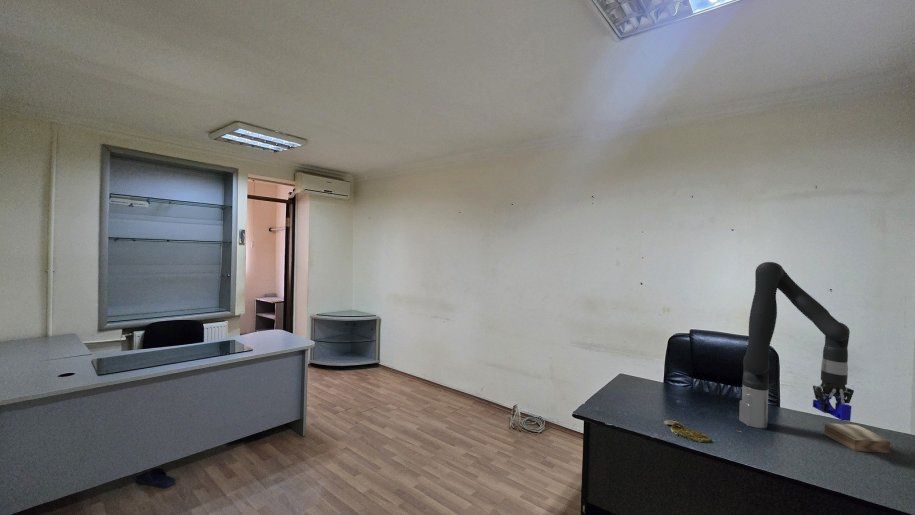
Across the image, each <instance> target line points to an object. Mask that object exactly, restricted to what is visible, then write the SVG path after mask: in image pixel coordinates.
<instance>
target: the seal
mask: <svg viewBox="0 0 915 515" xmlns="http://www.w3.org/2000/svg"><path fill="white" fill-rule="evenodd" d="M670 431H671V432H672V433H673V432H674V433H675V434H674V433H673V434H674V435H676V434H677V435H676V436H678V435H679V436H681V437H680V438H682V437H684V438H683V439H685V438H686V440H688V439H689V440H688V441H690V440H692V441H691V442H695V441H696V442H695V443H699V442H703V444H709V443H712V442H713V441H712V438H710V437H709V436H707V435H705V434H703V433H702V432H701V431H696V430H694V429H692V428H687V427H684V425H683V424H682V423H681V422H678V421H677V422H676V421H674V422H672V424H671V427H670ZM679 436H678V437H679Z"/></svg>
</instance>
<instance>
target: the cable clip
mask: <svg viewBox="0 0 915 515" xmlns="http://www.w3.org/2000/svg"><path fill="white" fill-rule="evenodd" d="M826 395H827V394H826ZM827 396H828V395H827ZM825 399H826V397H825ZM828 404H829V408H828V413H827V412H824V411H822V410H821V401H819V400H817V399H813V400H812V408H814V409H816V410H818V411H820V412H822V413H824V414H829V415H831V416H833V417H834V418H836V419H838V420H840V421H847V422H851V417H852V406H851V405H849V404H848V403H845V404H839V407H838V409H837V410H835V407H834V406H833V405H832V404H831V400H830V401H829V403H828Z"/></svg>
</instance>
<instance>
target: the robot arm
mask: <svg viewBox="0 0 915 515" xmlns="http://www.w3.org/2000/svg"><path fill="white" fill-rule="evenodd" d="M754 272H755V273H754V274H755V278H754V280H755V285H754V286H755V288H754V294H753V299H752V302H751V305H750V306H751V307H750V312H749V319H748V344H747V348H746V351H745V355H744V356H743V360H742V363H743V371H742V372H743V373H742V390H741V391H742V392H741V400H739V410H738V411H739V412H738V413H739V415H738V416H739V417H738V420H739V421H740V422H741V423H743V424H744V425H745V426H747V427H752V428H757V429H767V427H768V416H769V415H768V411H769V408H768V407H769V388H770V387H769V385H770V360H769V359H770V357H769V356H770V346H771V342H772V338H773V336H774V333H775V328H776V323H777V316H778V309H777V308H778V305H777V290H779V291H780V292H782V294H783V295H784V296H785V297H786V298H787V299H788V300H789V301H790V303H791V304H792V305H793V306H794V307H795V308H796V309H797V310H798V311H799V312H800V313H802V315H804V317H806V318H807V319H808V320H810V321H811V322H812V323H813V324H814V326H815V327H816V328H817V329H818V330H819V331H820V332H821V333H822V334H823V335H824V346H823V350H822V360H821V366H820V367H821V369H820V381H821V383H820V385H812V389H813V394H814V398H815V400H819V401H821V410H822V411H824V412H827V413H826V414H829V413H828V408H829V404H828V403H829V401H830V402H831V399H832V398H833V397H834V398H835V401H836V402H835V406H834V409H835V410H837V409H838V407H839V404H847V405H849V404H850V402H851V400H852V397H853V394H854V392H855V391H854V389H851V388H850V387H847V386H846V385H848V375H849V374H848V373H849V372H848V371H849V365H848V362H849V361H848V360H849V359H848V358H849V351H848V350H849V349H848V346H849V341H850V340H849V339H850V335H851V334H850V332H851V331H850V328H849V327H848V325H846V323H845V324H844V323H842V322H839V320H837V319H836V318H834V316H832V315H831V314H830V311H828V310H827V309H826V307H824V306H823V305H822V304H821V303H820V302H818V301H817V300H816V299H815V298H814V297H813V296H811V295H810V294H808V293H807V292H806V291H805V290H804V289H803V288H802V287H801V286H800V285H798V284H797V282H795V281H794V280H793V278H791V277H790V275H789V274H788V273H787V271H786V270H785V269H784V268H783V266H782V265H781V264H779V263H777V262H774V261H773V262H772V261H766V262H762V263H760V264H758V266H756V268H755V271H754ZM826 394H827V395H828V396H827V395H826ZM825 397H826V399H825ZM822 411H821V412H822ZM824 412H823V413H824Z"/></svg>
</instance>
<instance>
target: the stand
mask: <svg viewBox="0 0 915 515" xmlns="http://www.w3.org/2000/svg"><path fill="white" fill-rule="evenodd" d="M824 435H825V436H826V437H829V438H830V439H832V440H834V441H836V442H837V443H840V444H841V445H843V446H845V447H846V448H849V449H851V450H853V451H854V452H856V451H857V452H868V453H884V454H890V453H891V440H890V439H888V438H887V437H884V436H881V435H880V434H878V433H875V432H873V431H871V430H869V429H867V428H865V427H862V426H860V425H858V424H850V423H849V424H848V423H845V424H844V423H831V422H830V423H829V422H827V423H826V422H824Z"/></svg>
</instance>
